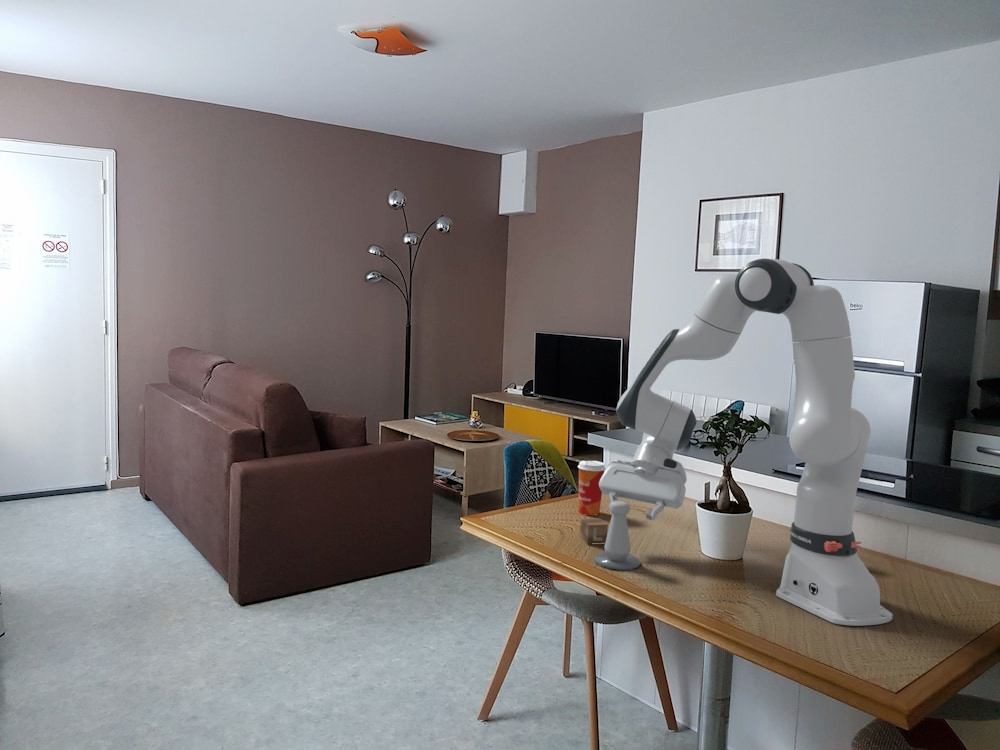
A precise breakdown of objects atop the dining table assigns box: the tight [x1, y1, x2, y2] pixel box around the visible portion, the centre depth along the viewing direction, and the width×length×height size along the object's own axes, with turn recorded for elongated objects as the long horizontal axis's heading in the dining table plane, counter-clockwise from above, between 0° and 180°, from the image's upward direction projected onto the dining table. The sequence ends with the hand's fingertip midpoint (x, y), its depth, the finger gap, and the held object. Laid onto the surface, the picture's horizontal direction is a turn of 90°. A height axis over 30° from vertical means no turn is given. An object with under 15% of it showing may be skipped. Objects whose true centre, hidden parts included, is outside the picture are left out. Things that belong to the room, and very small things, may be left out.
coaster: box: [594, 551, 641, 571], centre depth 172 cm, size 10×10×1 cm
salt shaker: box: [603, 500, 631, 562], centre depth 171 cm, size 6×6×13 cm
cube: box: [579, 517, 609, 545], centre depth 186 cm, size 5×5×5 cm
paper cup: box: [577, 460, 607, 516], centre depth 210 cm, size 8×8×14 cm
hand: (630, 514), depth 176 cm, fingers open, 8 cm apart
